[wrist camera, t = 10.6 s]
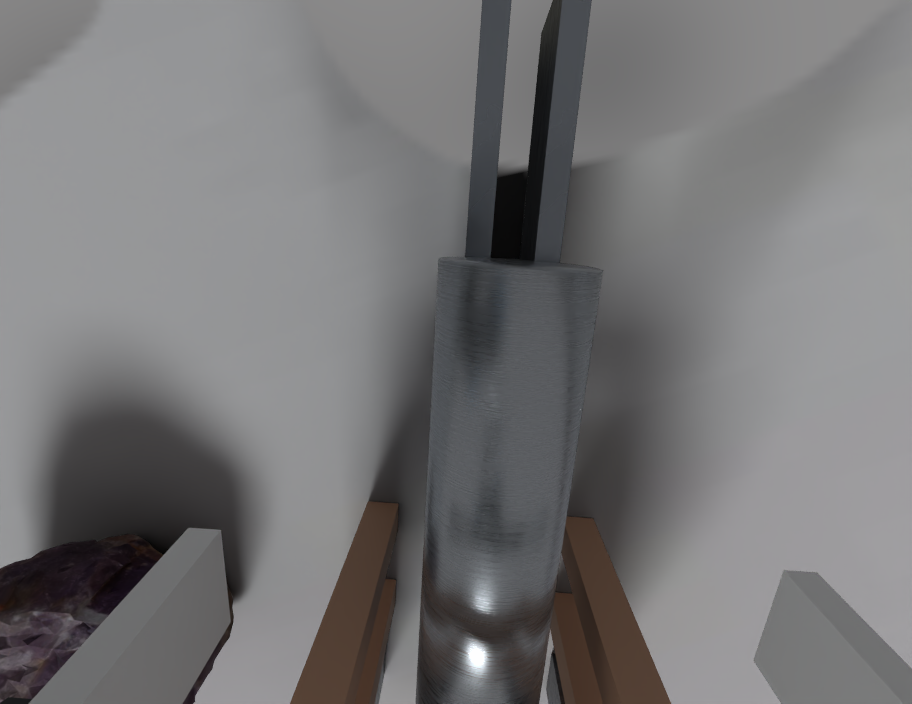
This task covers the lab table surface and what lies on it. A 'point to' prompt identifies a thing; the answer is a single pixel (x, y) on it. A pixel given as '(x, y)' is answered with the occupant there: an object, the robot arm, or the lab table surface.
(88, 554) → the rock
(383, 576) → the collar
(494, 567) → the tube
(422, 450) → the lab table surface
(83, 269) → the lab table surface
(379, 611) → the collar
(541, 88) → the rail cradle
